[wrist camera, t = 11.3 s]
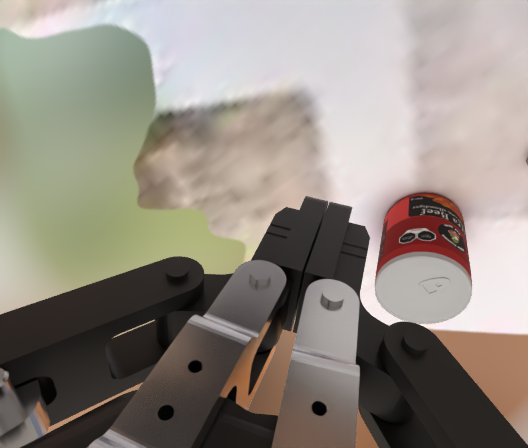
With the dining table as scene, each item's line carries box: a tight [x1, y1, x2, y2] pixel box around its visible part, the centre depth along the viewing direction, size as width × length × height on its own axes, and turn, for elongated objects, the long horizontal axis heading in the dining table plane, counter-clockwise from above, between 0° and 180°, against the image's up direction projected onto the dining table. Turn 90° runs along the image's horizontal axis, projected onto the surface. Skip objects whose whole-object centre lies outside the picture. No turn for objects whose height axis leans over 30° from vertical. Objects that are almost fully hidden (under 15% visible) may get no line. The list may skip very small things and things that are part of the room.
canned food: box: [375, 193, 472, 324], centre depth 41 cm, size 8×8×11 cm
